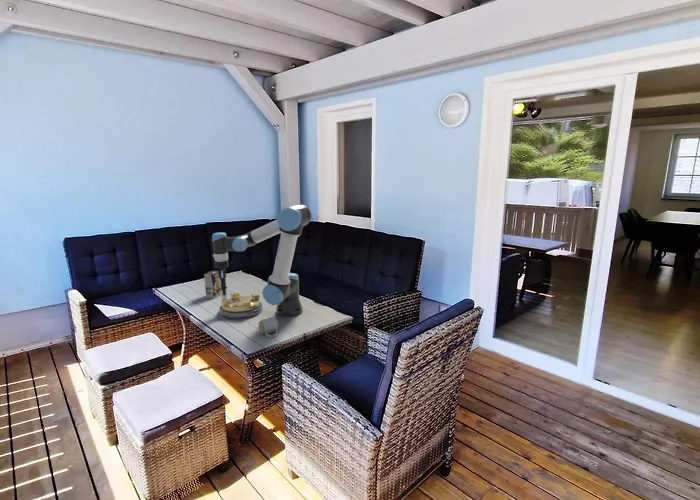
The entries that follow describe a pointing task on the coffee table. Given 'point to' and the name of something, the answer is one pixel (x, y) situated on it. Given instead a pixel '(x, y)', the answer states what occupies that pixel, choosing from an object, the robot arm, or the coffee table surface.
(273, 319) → the ceramic mug
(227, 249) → the robot arm
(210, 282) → the printed cardboard box
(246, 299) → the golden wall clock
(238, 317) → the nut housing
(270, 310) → the coffee table surface
